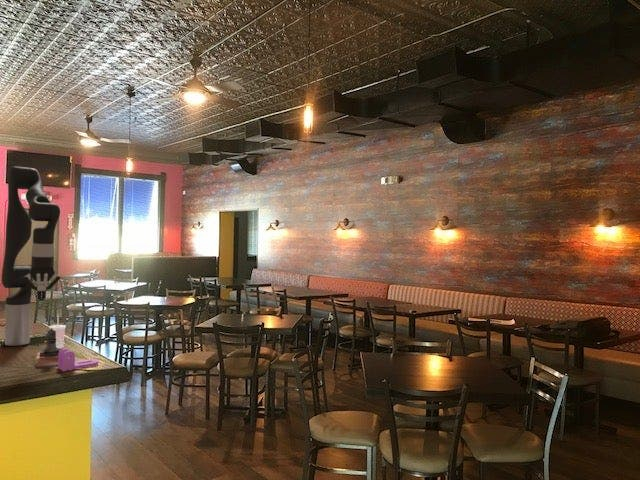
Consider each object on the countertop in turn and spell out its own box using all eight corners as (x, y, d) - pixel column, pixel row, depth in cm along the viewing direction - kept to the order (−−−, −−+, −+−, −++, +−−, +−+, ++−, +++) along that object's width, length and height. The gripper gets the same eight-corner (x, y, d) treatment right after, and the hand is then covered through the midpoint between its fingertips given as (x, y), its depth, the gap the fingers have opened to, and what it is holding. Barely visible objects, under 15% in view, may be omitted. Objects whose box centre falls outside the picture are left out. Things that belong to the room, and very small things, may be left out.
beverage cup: (68, 346, 217) (69, 313, 217) (59, 349, 211) (60, 315, 211) (54, 345, 218) (55, 312, 217) (45, 348, 212) (46, 315, 211)
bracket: (63, 371, 181) (64, 352, 181) (58, 368, 185) (58, 349, 185) (100, 365, 190) (101, 346, 190) (94, 362, 194) (95, 344, 194)
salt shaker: (52, 361, 189) (52, 329, 188) (38, 360, 190) (39, 328, 190) (63, 358, 194) (63, 326, 194) (49, 356, 196) (50, 325, 195)
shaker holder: (36, 359, 195) (36, 351, 195) (65, 357, 199) (65, 349, 199) (35, 367, 185) (35, 358, 185) (66, 364, 190) (66, 356, 190)
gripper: (62, 254, 201) (60, 298, 202) (23, 254, 195) (21, 299, 195) (62, 256, 194) (61, 301, 195) (22, 255, 188) (20, 302, 189)
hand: (41, 300), depth 195 cm, fingers closed
